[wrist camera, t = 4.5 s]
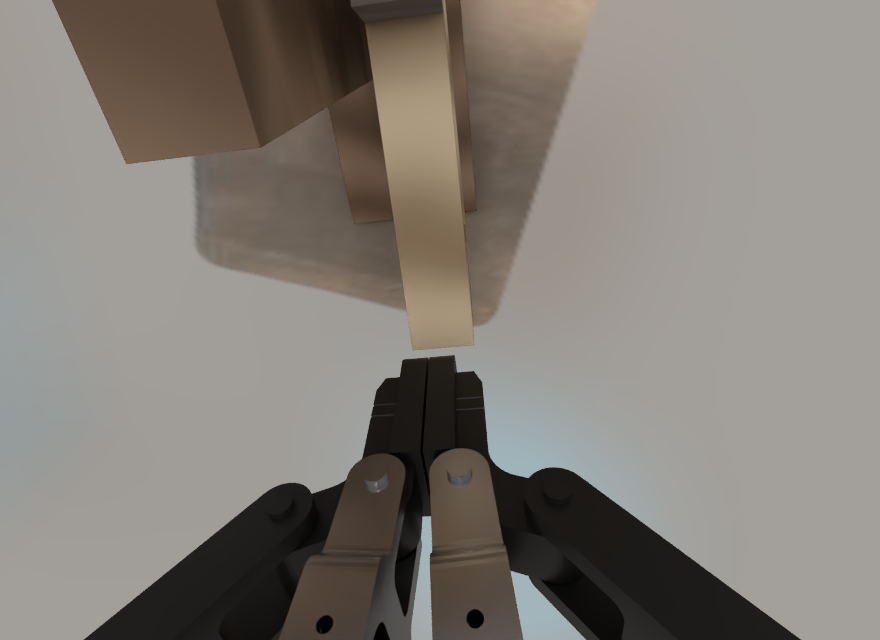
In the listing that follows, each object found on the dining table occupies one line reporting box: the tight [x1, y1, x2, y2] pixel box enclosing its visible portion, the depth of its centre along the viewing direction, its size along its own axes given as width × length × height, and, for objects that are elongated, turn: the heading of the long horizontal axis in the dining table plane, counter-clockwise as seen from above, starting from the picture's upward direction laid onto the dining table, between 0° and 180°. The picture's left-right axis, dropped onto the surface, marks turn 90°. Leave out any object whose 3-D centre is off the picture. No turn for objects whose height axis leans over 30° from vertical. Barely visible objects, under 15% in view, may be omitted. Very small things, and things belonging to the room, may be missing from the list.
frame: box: [350, 0, 474, 350], centre depth 21 cm, size 24×2×18 cm, turn 7°
